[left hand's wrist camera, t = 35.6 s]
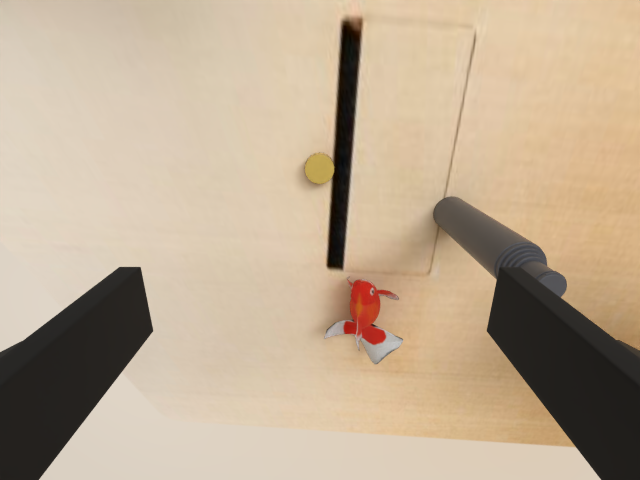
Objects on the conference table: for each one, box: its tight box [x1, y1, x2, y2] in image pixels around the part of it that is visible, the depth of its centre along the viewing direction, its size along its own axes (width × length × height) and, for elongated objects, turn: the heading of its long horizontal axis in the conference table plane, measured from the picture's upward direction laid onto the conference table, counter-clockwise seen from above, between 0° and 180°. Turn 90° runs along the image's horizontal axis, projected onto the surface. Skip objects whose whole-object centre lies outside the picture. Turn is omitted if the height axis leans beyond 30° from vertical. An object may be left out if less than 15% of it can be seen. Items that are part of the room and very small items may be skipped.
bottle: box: [434, 197, 567, 297], centre depth 37 cm, size 4×4×22 cm
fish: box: [324, 277, 403, 364], centre depth 49 cm, size 11×16×10 cm
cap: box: [305, 152, 334, 184], centre depth 45 cm, size 4×4×2 cm
